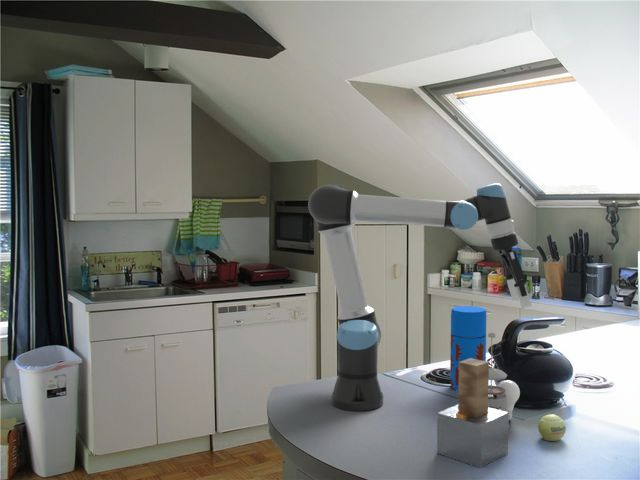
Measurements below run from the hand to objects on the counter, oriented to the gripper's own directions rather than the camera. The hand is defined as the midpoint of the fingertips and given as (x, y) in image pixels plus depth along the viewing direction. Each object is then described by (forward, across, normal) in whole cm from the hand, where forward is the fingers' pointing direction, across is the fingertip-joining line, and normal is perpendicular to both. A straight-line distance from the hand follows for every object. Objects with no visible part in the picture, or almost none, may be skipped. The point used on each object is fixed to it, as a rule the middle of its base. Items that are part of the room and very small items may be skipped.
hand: (521, 302), depth 210 cm
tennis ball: (+28, -35, +8) cm, 46 cm away
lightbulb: (+25, -22, +16) cm, 37 cm away
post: (+22, -46, +28) cm, 58 cm away
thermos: (+23, +7, +22) cm, 33 cm away
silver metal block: (+22, -46, +28) cm, 58 cm away
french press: (+24, -26, +22) cm, 41 cm away
